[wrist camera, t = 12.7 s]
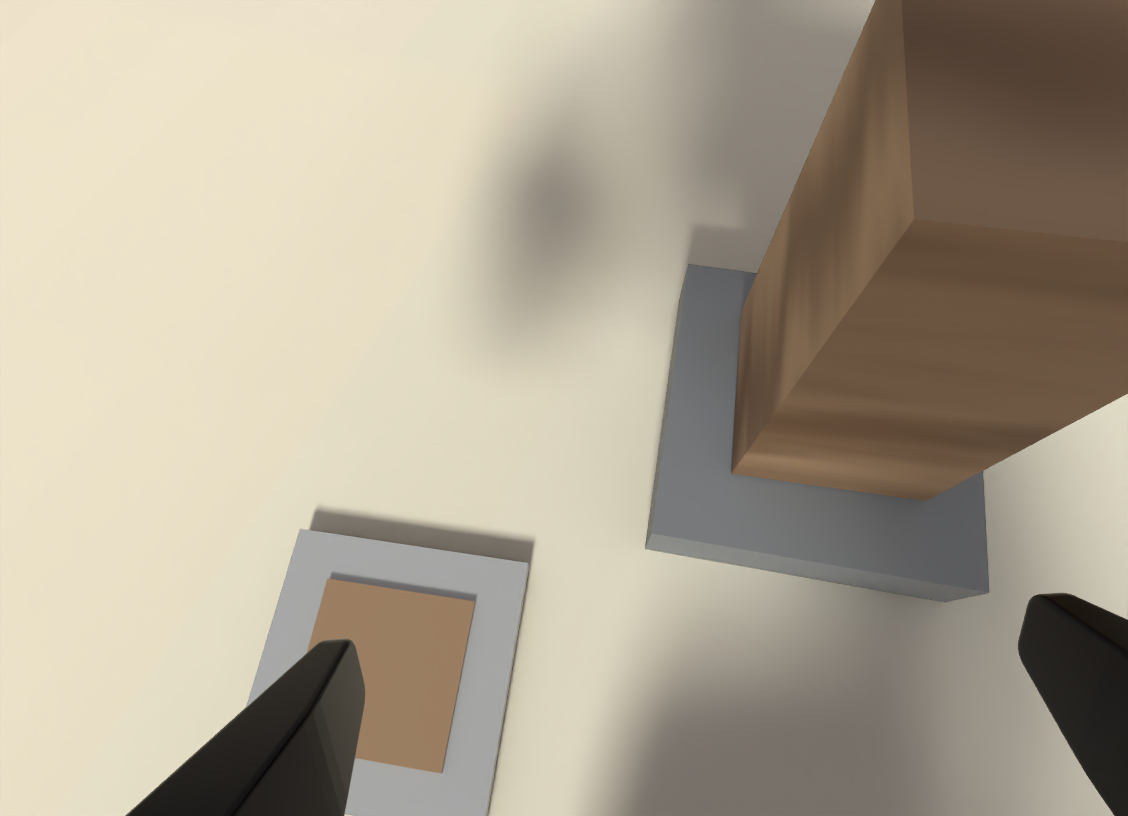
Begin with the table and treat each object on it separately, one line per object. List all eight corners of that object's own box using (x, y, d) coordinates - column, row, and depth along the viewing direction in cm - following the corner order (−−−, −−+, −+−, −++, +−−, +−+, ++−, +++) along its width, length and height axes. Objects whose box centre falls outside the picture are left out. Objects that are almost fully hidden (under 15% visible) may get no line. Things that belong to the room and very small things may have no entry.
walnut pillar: (925, 500, 21) (1364, 267, 9) (731, 473, 21) (913, 219, 10) (916, 332, 23) (1259, -25, 11) (740, 311, 23) (898, -54, 12)
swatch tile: (483, 835, 20) (480, 841, 19) (229, 788, 20) (217, 792, 20) (529, 565, 23) (527, 562, 22) (305, 531, 23) (297, 527, 23)
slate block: (939, 603, 22) (989, 592, 20) (644, 550, 23) (652, 533, 21) (933, 342, 26) (974, 302, 23) (677, 306, 27) (688, 264, 24)
